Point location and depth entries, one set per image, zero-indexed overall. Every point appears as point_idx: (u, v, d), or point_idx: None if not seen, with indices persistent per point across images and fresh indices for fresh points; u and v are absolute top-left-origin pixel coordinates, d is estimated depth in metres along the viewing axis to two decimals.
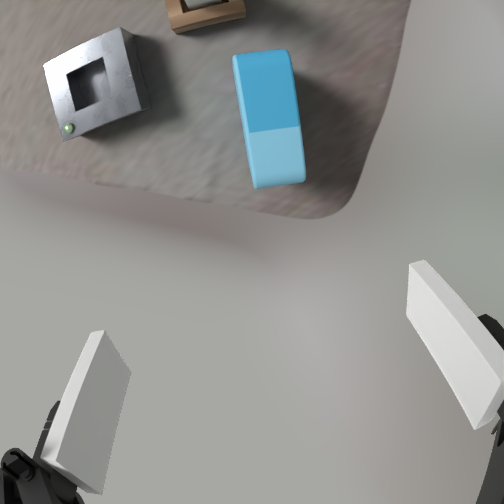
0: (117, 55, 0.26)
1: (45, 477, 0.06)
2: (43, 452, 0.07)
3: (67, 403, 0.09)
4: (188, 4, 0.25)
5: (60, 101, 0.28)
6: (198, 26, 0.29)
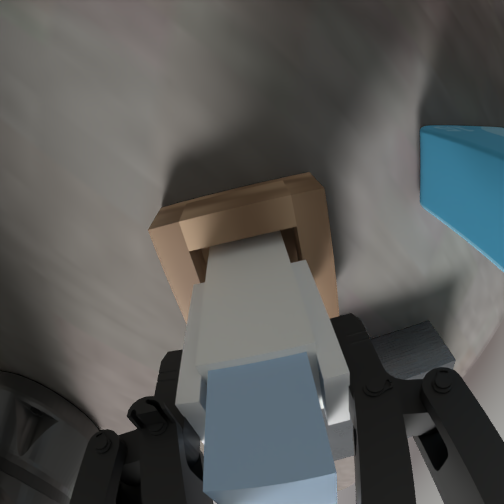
0: None
1: (180, 435, 0.08)
2: (178, 397, 0.09)
3: (193, 346, 0.11)
4: None
5: None
6: None
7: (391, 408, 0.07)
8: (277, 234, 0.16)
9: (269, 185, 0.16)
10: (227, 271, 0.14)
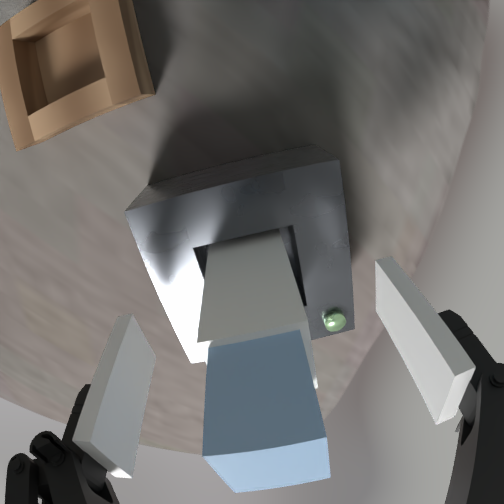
0: (194, 214, 0.14)
1: (77, 463, 0.07)
2: (75, 434, 0.08)
3: (99, 384, 0.10)
4: None
5: None
6: (141, 50, 0.14)
7: None
8: None
9: None
10: (226, 259, 0.15)
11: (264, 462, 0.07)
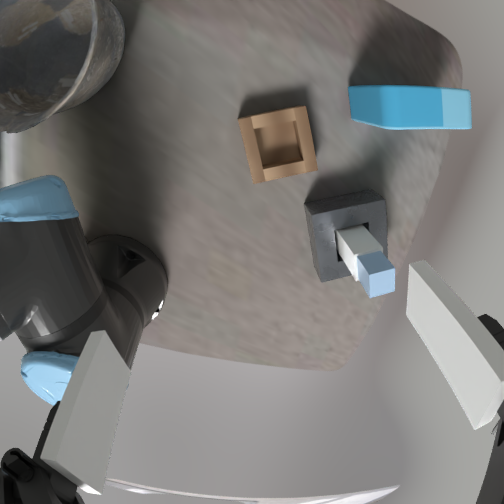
0: (336, 217, 0.39)
1: (45, 477, 0.06)
2: (43, 452, 0.07)
3: (67, 403, 0.09)
4: None
5: None
6: None
7: None
8: None
9: (284, 108, 0.36)
10: (347, 233, 0.39)
11: (381, 277, 0.32)
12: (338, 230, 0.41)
